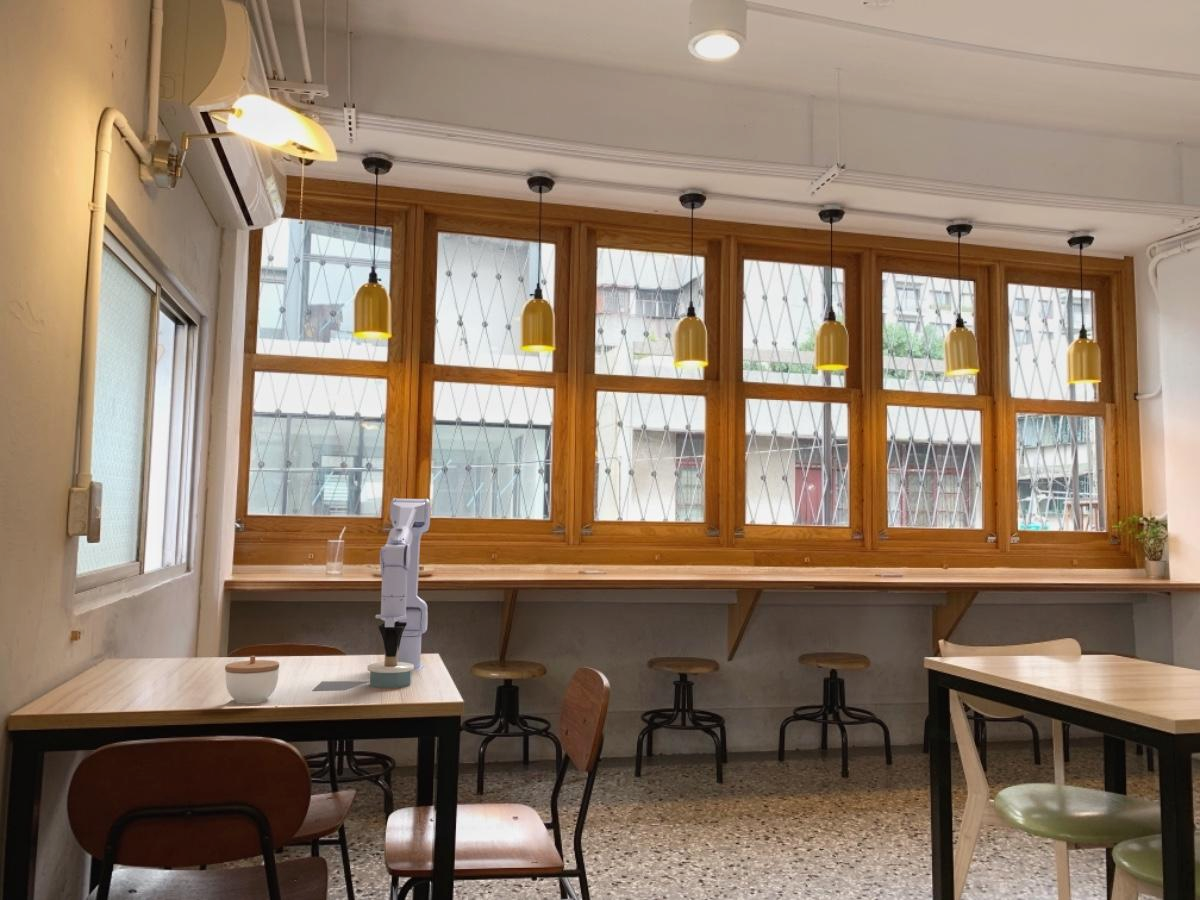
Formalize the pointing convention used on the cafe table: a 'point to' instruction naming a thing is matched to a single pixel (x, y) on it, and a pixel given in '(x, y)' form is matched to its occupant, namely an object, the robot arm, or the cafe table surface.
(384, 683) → the bowl
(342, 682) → the mat
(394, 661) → the lid
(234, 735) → the cafe table surface
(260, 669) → the lidded jar
